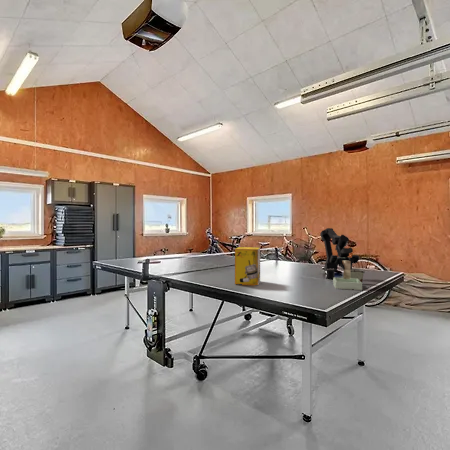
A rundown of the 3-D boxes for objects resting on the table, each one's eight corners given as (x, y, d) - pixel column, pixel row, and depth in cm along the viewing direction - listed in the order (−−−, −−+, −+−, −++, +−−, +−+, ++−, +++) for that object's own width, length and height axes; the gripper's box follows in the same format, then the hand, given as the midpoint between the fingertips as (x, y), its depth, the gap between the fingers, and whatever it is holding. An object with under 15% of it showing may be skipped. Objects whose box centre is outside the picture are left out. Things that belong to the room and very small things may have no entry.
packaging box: (258, 285, 204) (258, 249, 204) (234, 284, 208) (234, 248, 208) (260, 281, 220) (260, 247, 220) (238, 280, 223) (238, 247, 223)
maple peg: (342, 278, 202) (342, 260, 202) (346, 277, 204) (346, 260, 204) (347, 279, 198) (347, 261, 198) (351, 278, 200) (352, 261, 200)
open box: (333, 283, 211) (333, 277, 211) (357, 285, 206) (357, 278, 206) (335, 288, 195) (335, 281, 195) (362, 290, 191) (362, 283, 191)
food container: (363, 282, 215) (363, 269, 215) (364, 284, 209) (364, 270, 209) (344, 281, 218) (344, 268, 218) (345, 283, 212) (345, 269, 212)
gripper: (331, 243, 205) (337, 261, 194) (358, 243, 205) (365, 261, 194) (327, 253, 213) (332, 271, 202) (353, 253, 213) (360, 271, 202)
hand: (347, 269), depth 199 cm, fingers closed on maple peg, 4 cm apart
